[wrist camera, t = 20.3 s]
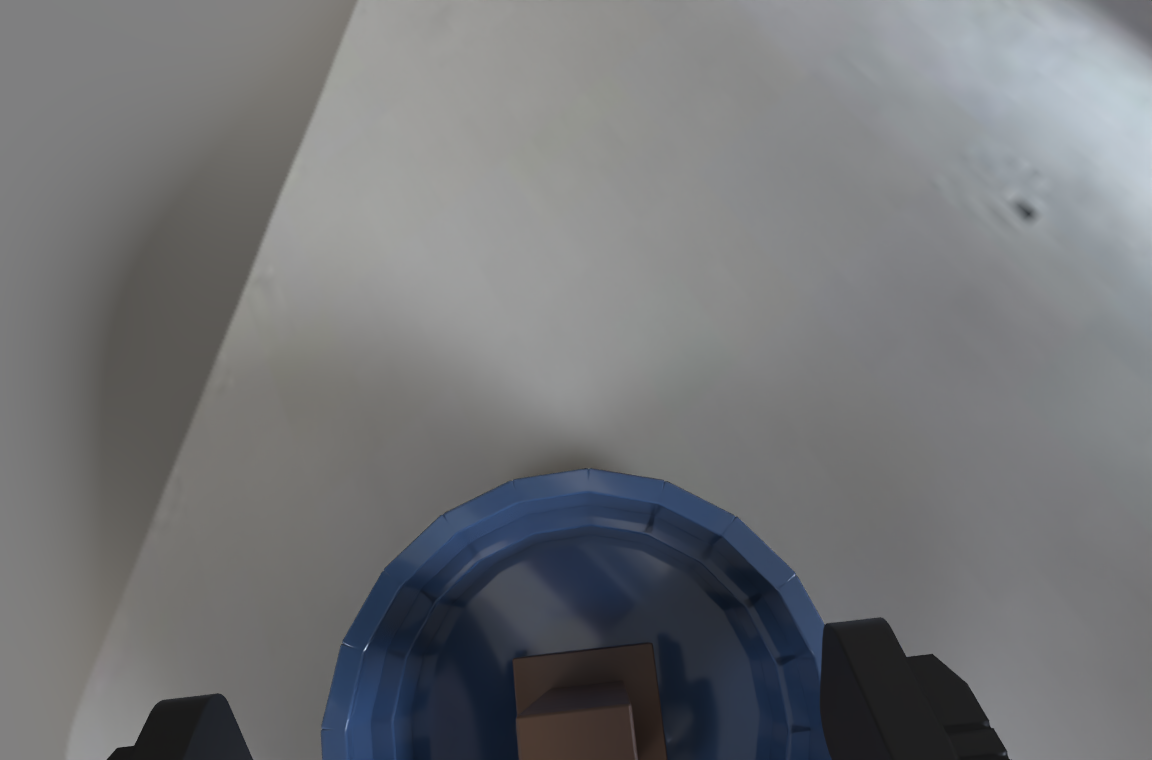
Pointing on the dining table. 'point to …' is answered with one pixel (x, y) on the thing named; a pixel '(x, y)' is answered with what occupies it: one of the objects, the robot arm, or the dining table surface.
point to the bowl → (580, 624)
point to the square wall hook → (589, 705)
